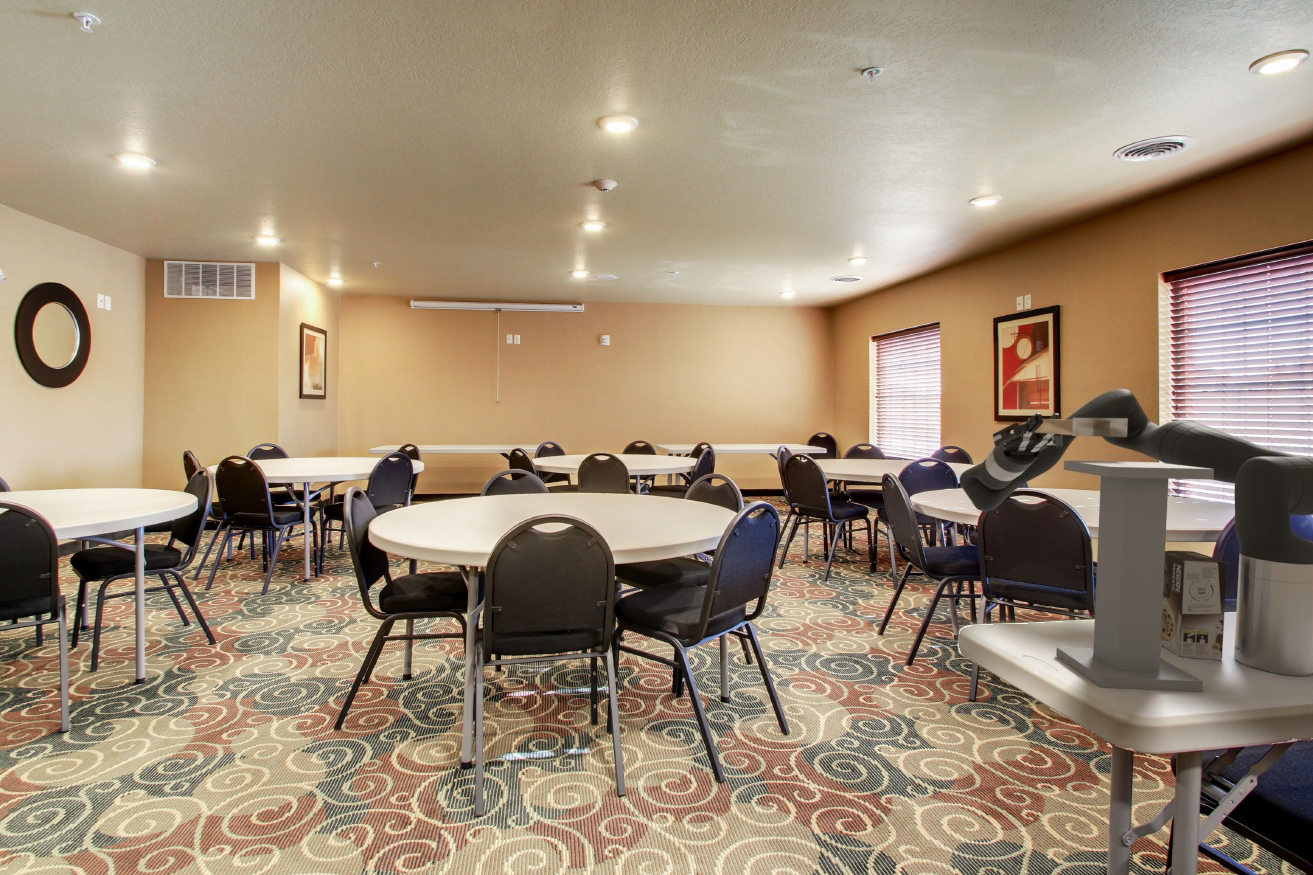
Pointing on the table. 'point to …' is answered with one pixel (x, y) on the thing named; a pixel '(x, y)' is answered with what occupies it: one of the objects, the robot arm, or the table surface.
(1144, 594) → the stand
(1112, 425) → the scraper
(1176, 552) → the coffee box
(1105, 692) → the table surface
